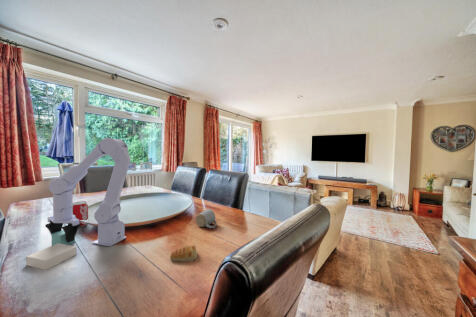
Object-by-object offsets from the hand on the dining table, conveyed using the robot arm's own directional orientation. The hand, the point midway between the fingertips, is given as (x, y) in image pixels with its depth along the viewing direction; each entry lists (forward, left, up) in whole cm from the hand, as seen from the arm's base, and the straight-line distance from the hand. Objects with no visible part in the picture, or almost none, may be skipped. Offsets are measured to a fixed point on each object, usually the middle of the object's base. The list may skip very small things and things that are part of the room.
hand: (63, 240), depth 74 cm
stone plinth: (-9, +9, -1) cm, 13 cm away
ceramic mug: (-50, -34, -2) cm, 60 cm away
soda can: (+13, -15, -2) cm, 20 cm away
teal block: (0, 0, -2) cm, 2 cm away
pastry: (-53, -5, -2) cm, 54 cm away
